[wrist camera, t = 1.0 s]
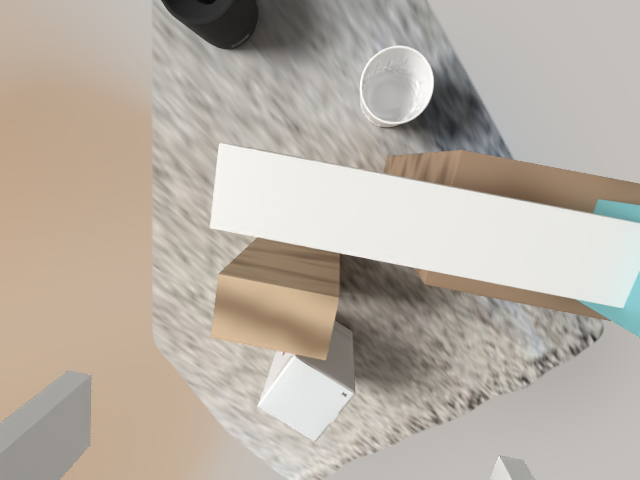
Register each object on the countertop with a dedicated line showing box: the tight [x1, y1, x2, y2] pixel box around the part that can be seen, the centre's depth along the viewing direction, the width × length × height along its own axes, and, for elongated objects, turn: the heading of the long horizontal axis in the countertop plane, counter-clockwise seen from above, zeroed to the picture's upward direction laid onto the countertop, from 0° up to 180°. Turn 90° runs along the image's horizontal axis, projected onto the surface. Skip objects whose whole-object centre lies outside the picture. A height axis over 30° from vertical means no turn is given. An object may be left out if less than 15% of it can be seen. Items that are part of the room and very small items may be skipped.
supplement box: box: [258, 321, 355, 441], centre depth 48 cm, size 9×9×15 cm
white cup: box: [360, 46, 434, 127], centre depth 41 cm, size 8×8×10 cm
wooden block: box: [211, 237, 340, 360], centre depth 43 cm, size 7×12×19 cm, turn 79°
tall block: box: [384, 150, 640, 321], centre depth 34 cm, size 8×14×30 cm, turn 80°
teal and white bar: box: [210, 143, 640, 337], centre depth 17 cm, size 26×6×6 cm, turn 80°
